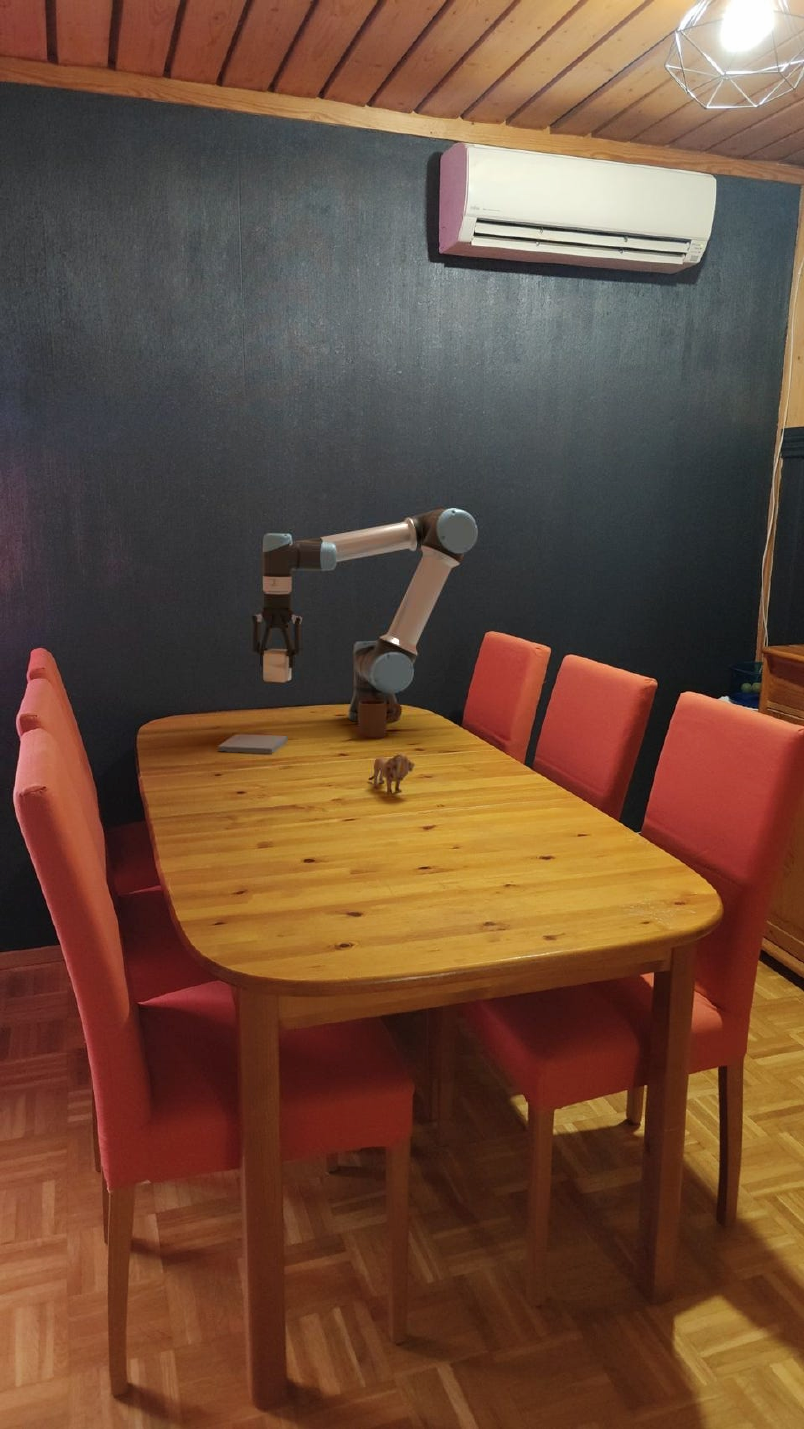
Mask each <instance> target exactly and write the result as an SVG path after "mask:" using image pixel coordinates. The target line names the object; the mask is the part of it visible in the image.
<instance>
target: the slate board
mask: <svg viewBox="0 0 804 1429" xmlns="http://www.w3.org/2000/svg"><path fill="white" fill-rule="evenodd" d="M287 742H288V736H287V735H271V734H270V735H269V734H268V735H265V734H247V733H246V734H241V733H240V734H239V733H235V734H234V735H233V736H231V737H230V738H228V739H227V740H225V741H224V742H223V743H221V744H219V745H218V747H217V750H218V751H226V752H225V753H238V752H245V753H244V754H263V755H264V754H266V755H273V754H274V753H275V752H276V751H277V750H279V749H280V748H281V747H283V746H284V745H285V744H286V743H287Z"/></svg>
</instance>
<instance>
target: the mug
mask: <svg viewBox="0 0 804 1429" xmlns="http://www.w3.org/2000/svg"><path fill="white" fill-rule="evenodd" d="M392 708H397V710H396V713H395V714H393V715H388V716H386V711H388V710H390V709H392ZM402 713H403V708H402V706H401V704H400V703H398V702H397V703H396V702H391V703H389V704H387V705H386V702H385V701H381V700H363V701H360V702H359V707H358V722H357V723H358V724H357V726H358V727H357V728H358V732H357V733H358V735H359V737H360V738H362V739H369V740H374V739H375V740H376V739H383V738H385V737H386V735H387V725H388V724H389V723H391V722H390V721H392V722H394V721H393V720H396V719H398V718H399V717H401V716H402ZM399 719H400V718H399ZM399 719H398V720H399ZM396 721H397V720H396Z"/></svg>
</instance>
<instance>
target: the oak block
mask: <svg viewBox="0 0 804 1429" xmlns="http://www.w3.org/2000/svg"><path fill="white" fill-rule="evenodd" d="M286 656H288V652H287V649H284V648H269V649H267V650H266V651H264V679H263V681H264V682H271V683H272V682H273V683H274V682H275V683H285V682H287V681H286Z"/></svg>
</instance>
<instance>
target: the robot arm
mask: <svg viewBox="0 0 804 1429" xmlns="http://www.w3.org/2000/svg"><path fill="white" fill-rule="evenodd" d="M478 531H479V530H478V526H477V522H476V520H475V519H474V517H473V515H471V514H470V513H469V512H467V511H466V510H463V509H459V508H455V507H454V508H438V509H435V510H431V511H427V512H425V513H422V514H417V515H414V516H409V517H406V518H405V519H404V521H402V522H396V523H391V524H385V525H380V526H375V527H374V526H373V527H369V528H364V529H358V530H353V531H349V532H343V533H337V534H332V535H326V536H321V537H315V538H310V539H300V540H297V541H295V540H293V539H292V538H293V537H292V535H291V534H290V533H273V532H272V533H271V532H270V533H266V534H264V535H263V541H262V543H263V544H262V550H261V551H262V591H263V592H264V593H263V594H262V611H261V613H258V614H253V615H252V616H251V619H252V623H253V634H252V636H253V638H252V651H253V652H254V653H257V654H259V666H260V667H262V668H263V669H262V670H263V671H262V673H263V674H262V675H263V676H262V678H263V680H264V651H266V650H268V648H269V644H270V640H271V638H272V637H271V636H272V633H273V631H274V629H275V628H277V629H280V632H282V636H283V641H284V645H285V647H286V650H287V652H288V656H286V682H289V681H290V680H292V669H294V668H295V666H296V661H295V658H296V655H299V654H301V653H302V652H303V651H302V649H303V648H302V646H303V645H302V622H303V620H304V618H303V616H298V615H295V614H294V613H293V611H292V606H293V605H292V604H293V603H292V601H293V600H292V594H291V592H292V591H293V590H292V571H322V572H325V571H333V570H335V568H336V567H337V563H338V562H343V561H344V562H345V561H348V560H354V559H359V558H364V557H365V558H366V557H370V556H376V555H380V554H385V553H392V552H396V551H401V550H409V551H411V552H415V551H422V553H423V554H422V557H421V560H420V561H419V564H418V566H417V567H416V571H415V572H414V574H413V577H412V579H411V581H410V584H409V585H408V588H407V589H406V590H407V591H406V593H405V595H404V596H403V599H402V600H401V602H400V606H399V607H398V609H397V612H396V614H395V616H394V619H393V620H392V623H391V625H390V627H389V629H388V632H387V633H386V634H384V635H382V636H380V637H379V639H378V640H369V641H357V642H355V643H354V646H353V648H354V649H353V688H354V690H353V691H354V692H353V695H352V699H351V702H350V705H349V708H348V713H347V714H348V716H347V719H348V720H350V721H352V722H357V723H358V707H359V702H360V701H363V700H381V701H385V702H386V705H387V704H389V703H391V702H396V703H398V701H397V699H396V695H395V694H396V693H400V692H402V691H404V690H406V688H408V687H409V685H410V684H411V683H412V680H413V679H414V674H415V669H414V664H415V662H416V660H417V658H418V654H419V653H418V651H417V648H416V646H417V644H418V642H419V639H420V638H421V635H422V632H423V631H424V628H425V627H426V625H427V622H428V620H429V619H430V616H431V614H432V611H433V609H434V607H435V605H436V603H437V601H438V597H439V596H440V594H441V592H442V590H443V587H444V585H445V583H446V581H447V579H448V576H449V574H450V572H451V571H452V568H455V567H457V566H459V565H460V563H461V561H462V559H463V557H464V555H465V553H466V552H468V551H470V550H471V549H472V548H473V547H474V546H475V544H476V542H477V540H478V539H477V538H478V534H479V533H478ZM263 620H264V622H265V624H266V625H265V628H264V630H265V631H264V634H263V636H262V637H263V638H262V641H261V635H262V634H261V633H262V632H261V631H262V621H263ZM291 620H292V624H293V637H294V638H293V639H292V636H291V631H290V627H289V626H290V625H289V624H290V622H291ZM293 641H294V644H293ZM396 710H397V708H392V709H390V710H388V711H386V716H388V715H393V714H395V713H396ZM400 717H401V716H400ZM400 717H399V718H398V719H396V720H393V721H390V722H389V723H392V722H395V721H398V720H399V719H400Z"/></svg>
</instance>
